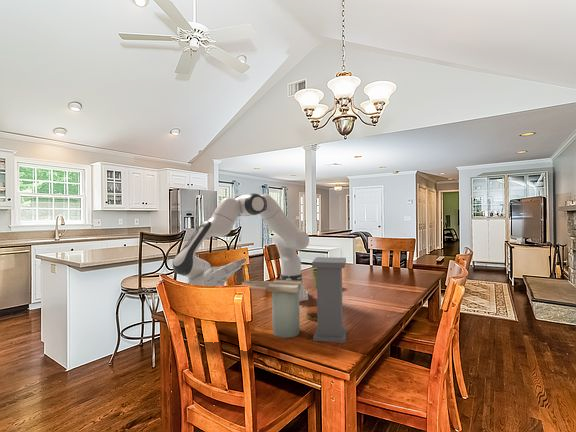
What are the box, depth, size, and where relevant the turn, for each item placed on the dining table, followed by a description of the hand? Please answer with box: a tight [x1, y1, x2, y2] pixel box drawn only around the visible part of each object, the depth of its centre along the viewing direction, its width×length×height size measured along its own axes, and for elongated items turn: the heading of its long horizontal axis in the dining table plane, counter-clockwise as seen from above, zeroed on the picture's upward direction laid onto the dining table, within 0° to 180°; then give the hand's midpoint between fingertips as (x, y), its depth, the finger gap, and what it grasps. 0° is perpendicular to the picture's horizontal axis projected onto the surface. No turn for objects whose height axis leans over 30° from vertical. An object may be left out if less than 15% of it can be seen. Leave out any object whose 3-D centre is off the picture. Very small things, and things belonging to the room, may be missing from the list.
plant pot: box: [311, 267, 317, 289], centre depth 200 cm, size 12×12×11 cm
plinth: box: [311, 256, 348, 344], centre depth 123 cm, size 12×12×30 cm
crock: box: [271, 291, 301, 339], centre depth 128 cm, size 11×11×18 cm
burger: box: [305, 306, 317, 322], centre depth 144 cm, size 10×9×5 cm
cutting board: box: [241, 279, 304, 293], centre depth 129 cm, size 12×24×2 cm, turn 77°
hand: (241, 261), depth 132 cm, fingers open, 8 cm apart
